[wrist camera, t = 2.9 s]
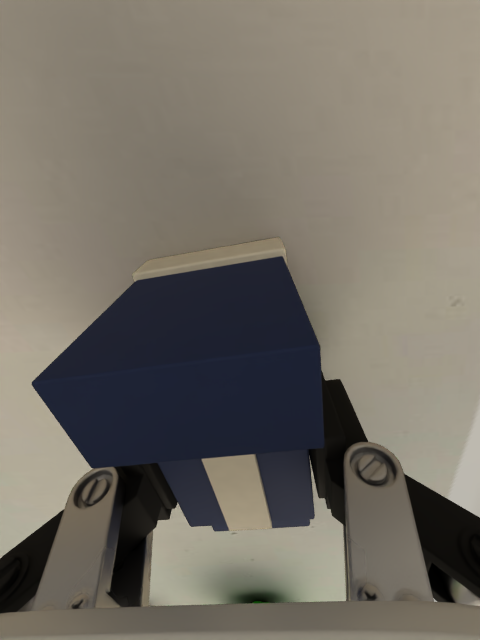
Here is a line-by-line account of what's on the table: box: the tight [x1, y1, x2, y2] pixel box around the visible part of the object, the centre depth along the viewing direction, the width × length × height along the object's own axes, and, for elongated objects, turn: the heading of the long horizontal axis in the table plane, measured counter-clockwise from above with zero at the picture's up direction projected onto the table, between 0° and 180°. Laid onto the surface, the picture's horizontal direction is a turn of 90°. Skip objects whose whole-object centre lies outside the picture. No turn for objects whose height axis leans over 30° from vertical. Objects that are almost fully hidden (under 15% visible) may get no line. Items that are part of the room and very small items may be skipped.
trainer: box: [32, 237, 324, 531], centre depth 9 cm, size 11×5×6 cm, turn 10°
